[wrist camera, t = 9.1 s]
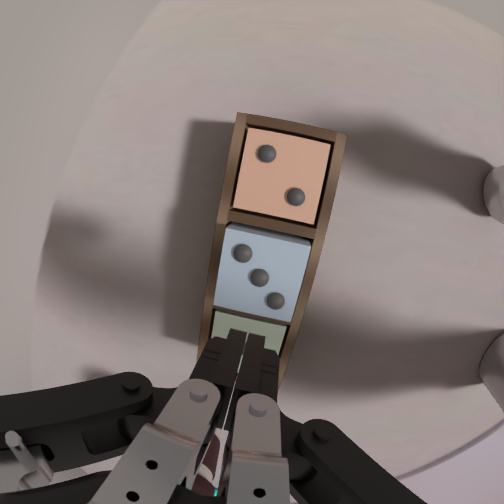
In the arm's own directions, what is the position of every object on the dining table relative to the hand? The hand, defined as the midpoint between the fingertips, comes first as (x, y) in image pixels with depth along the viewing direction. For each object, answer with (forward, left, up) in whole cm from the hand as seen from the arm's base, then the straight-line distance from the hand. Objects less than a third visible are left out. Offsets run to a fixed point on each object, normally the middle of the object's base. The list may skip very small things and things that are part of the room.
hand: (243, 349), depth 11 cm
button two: (+6, -4, -15) cm, 17 cm away
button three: (0, 0, -13) cm, 13 cm away
